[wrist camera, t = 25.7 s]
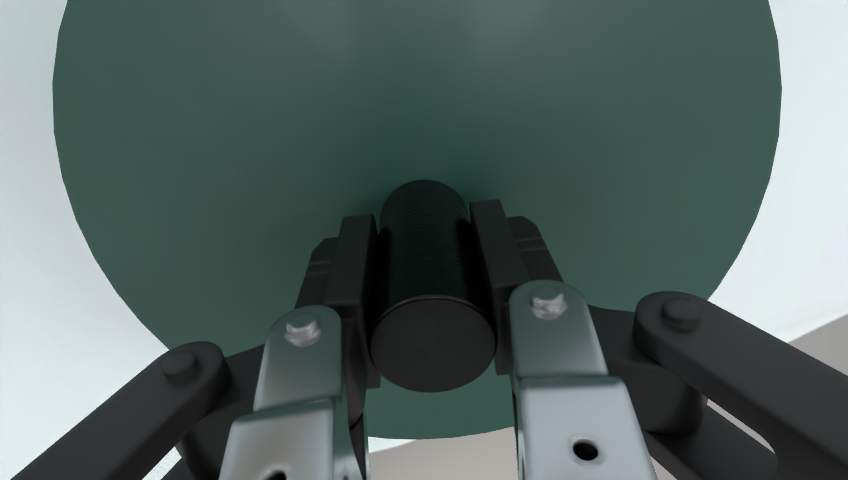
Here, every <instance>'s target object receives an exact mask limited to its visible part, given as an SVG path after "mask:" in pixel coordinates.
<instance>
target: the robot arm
mask: <svg viewBox="0 0 848 480" xmlns="http://www.w3.org/2000/svg"><path fill="white" fill-rule="evenodd" d="M469 207H470V222H471V228H472V232H473V236H474V241H475V245H476V249H477V253H478V258H479V262H480V266H481V270H482V274H483V279H484V283H485V287H486V291H487V296H488V300H489V304H490V308H491V312H492V317H493V321H494V324H495V327H496V331H497V338H498V345H497V350H496V354H495V356H494V359H493V361H494V366H495V370H496V375H497V376H500V375H509V378H510V382H511V386H512V409H513V421H514V434H515V446H516V459H517V471H518V480H658V478H657V475H656V472H655V469H654V467H653V464H652V461H651V458H650V456H651V457H653V458H654V459H655V460H656V461H657V462H658V463H659V464H660V465H662V466H663V467H664V468H665V469H666V470H667V471H668V472H669V473H670V474H672V475H673V476H674V477H675V478H676V479H677V480H848V376H847V375H845V374H843V373H841V372H839V371H837V370H836V369H833V368H832V367H830V366H828V365H826V364H824V363H822V362H821V361H819V360H817V359H815V358H813V357H811V356H809V355H808V354H806V353H804V352H802V351H800V350H798V349H796V348H794V347H793V346H791V345H789V344H787V343H785V342H783V341H782V340H780V339H778V338H776V337H774V336H772V335H770V334H769V333H767V332H765V331H763V330H761V329H759V328H757V327H755V326H754V325H752V324H750V323H748V322H746V321H744V320H742V319H741V318H739V317H737V316H735V315H733V314H731V313H729V312H728V311H726V310H724V309H722V308H720V307H718V306H716V305H715V304H713V303H711V302H709V301H707V300H705V299H703V298H701V297H698V296H695V295H692V294H688V293H684V292H678V291H660V292H655V293H651V294H649V295H646V296H645V297H643V298H642V299H641V300H640V301H639V302H638V303H637V305H636V310H635V312H630V311H621V310H611V309H604V308H599V307H595V306H592V305H590V304H587V302H586V300H585V297H584V296H583V294H582V293H581V292H580V291H579V290H578V289H576V288H575V287H573V286H571V285H569V284H567V283H564V281H563V279H562V277H561V275H560V273H559V271H558V269H557V267H556V264H555V262H554V260H553V258H552V256H551V254H550V252H549V250H548V249H547V246H546V244H545V242H544V239H542V235H541V233H540V231H539V229H538V227H537V225H536V224H534V223H533V222H532V221H530V220H529V219H527V218H526V217H524V216H514V217H506V215H505V212H504V210H503V207H502V204H501V202H500V199H491V200H483V201H474V202H470V204H469ZM377 242H378V232H377V227H376V222H375V218H374V215H373V213H371V214H363V215H354V216H346V217H343V219H342V223H341V227H340V232H339V236H338V237H333V238H324V240H323V241H322V242H321V243H320V244H319V245H318V246H317V247H316V248H315V249H314V250H313V251H312V254H311V257H310V260H309V266H308V267H307V270H306V273H305V277H304V279H303V282H302V286H301V289H300V292H299V295H298V298H297V301H296V305H295V308H294V310H292V311H290V312H288V313H286V314H285V315H283V316H281V317H280V318H279V319H278V320H277V321H275V322H274V324H273V325H272V326H271V327H270V329H269V331H268V334H267V337H266V343H264V344H262V345H260V346H257V347H255V348H252V349H249V350H246V351H243V352H240V353H237V354H234V355H231V356H228V357H224V354H223V352H222V350H221V349H220V347H219V346H218V345H216V344H214V343H212V342H208V341H196V342H190V343H186V344H183V345H180V346H178V347H175V348H173V349H171V350H169V351H167V352H166V353H164V354H163V355H161V356H160V357H158V358H157V359H156V360H155V361H153V362H152V363H151V364H150V365H148V366H147V367H146V368H145V369H144V370H142V371H141V372H140V373H139V374H138V375H136V376H135V377H134V378H133V379H132V380H130V381H129V382H128V383H127V384H125V385H124V386H123V387H122V388H121V389H119V390H118V391H117V392H116V393H115V394H113V395H112V396H111V397H110V398H109V399H107V400H106V401H105V402H104V403H103V404H101V405H100V406H99V407H98V408H96V409H95V410H94V411H93V412H92V413H90V414H89V415H88V416H87V417H86V418H84V419H83V420H82V421H81V422H80V423H78V424H77V425H76V426H75V427H73V428H72V429H71V430H70V431H69V432H67V433H66V434H65V435H64V436H63V437H61V438H60V439H59V440H58V441H57V442H55V443H54V444H53V445H52V446H51V447H49V448H48V449H47V450H46V451H44V452H43V453H42V454H41V455H40V456H38V457H37V458H36V459H35V460H34V461H32V462H31V463H30V464H29V465H28V466H26V467H25V468H24V469H23V470H21V471H20V472H19V473H18V474H17V475H15V476H14V477H13V478H12V479H11V480H142V479H143V478H144V477H145V476H146V475H147V474H148V473H149V472H150V471H151V470H152V469H153V468H154V467H155V466H156V465H157V464H158V463H159V462H160V460H161V459H162V458H163V457H164V456H165V455H166V454H167V453H168V452H169V451H170V450H171V449H172V448H173V447H174V446H175V447H176V449H177V451H178V452H179V454H180V456H181V457H182V458H181V459H180V460H179V461H178V462H177V463H176V464H175V465H174V466H173V467H172V469H171V470H170V471H169V472H168V473H167V474H166V475H165V476H164V477H163V478H162V479H161V480H370V467H369V449H368V433H367V418H366V413H365V409H364V406H365V398H366V389H375V388H380V382H381V374H380V373H379V372H378V371H377V370H376V369H375V367H374V366H373V364H372V362H371V360H370V357H369V354H368V348H367V340H368V330H369V321H370V311H371V301H372V291H373V281H374V272H375V262H376V252H377ZM708 398H709V399H710V400H711V401H713V402H714V403H716V404H717V405H719V406H720V407H721V408H723V409H724V410H726V411H727V412H728V413H730V414H731V415H733V416H734V417H735V418H737V419H738V420H740V421H741V422H743V423H744V424H745V425H747V426H748V427H750V428H751V429H753V430H754V431H755V432H757V433H758V434H759V435H761V436H762V437H763V438H764V439H765V440H766V441H767V442H768V443H769V444H770V446H771V447H772V448H773V450H774V452H775V454H774V453H773V452H771V451H770V450H769V449H768V448H766V447H765V446H763V445H762V444H761V443H759V442H758V441H756V440H755V439H754V438H752V437H751V436H749V435H748V434H747V433H745V432H744V431H743V430H741V429H740V428H738V427H737V426H736V425H734V424H733V423H731V422H730V421H729V420H727V419H726V418H724V417H723V416H722V415H720V414H719V413H718V412H716V411H715V410H713V409H712V408H711V407H709V406H708V405H707V402H708Z"/></svg>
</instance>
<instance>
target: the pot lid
mask: <svg viewBox="0 0 848 480" xmlns="http://www.w3.org/2000/svg"><path fill="white" fill-rule="evenodd" d="M781 93H782V86H781V73H780V61H779V49H778V39H777V35H776V31H775V27H774V22H773V18H772V14H771V10H770V6H769V2H768V0H68V1H67V5H66V8H65V12H64V15H63V19H62V22H61V26H60V29H59V34H58V42H57V50H56V58H55V66H54V74H53V115H54V134H55V140H56V146H57V151H58V157H59V162H60V168H61V173H62V178H63V181H64V184H65V187H66V191H67V194H68V197H69V200H70V203H71V206H72V209H73V212H74V215H75V218H76V221H77V223H78V225H79V227H80V229H81V231H82V233H83V235H84V237H85V239H86V242H87V244H88V246H89V248H90V250H91V252H92V254H93V256H94V258H95V260H96V261H97V263H98V264H99V266H100V267H101V269H102V271H103V272H104V274H105V275H106V277H107V278H108V280H109V281H110V283H111V285H112V286H113V288H114V289H115V291H116V292H117V294H118V295H119V296H120V297H121V298H122V300H123V301H124V302H125V303H126V304H127V306H128V307H129V308H130V309H131V311H132V312H133V313H134V314H135V315H136V317H137V318H138V319H139V320H140V322H141V323H142V324H143V325H144V326H145V327H146V328H147V329H149V330H150V331H151V332H152V333H153V334H154V335H155V336H156V337H157V338H158V339H159V340H160V341H161V342H162V343H163V344H164V345H165V346H166V347H167V348H168V349H169V350H171V349H173V348H175V347H178V346H180V345H183V344H186V343H190V342H196V341H208V342H212V343H214V344H216V345H218V346H219V347H220V349H221V350H222V352H223V354H224V357H228V356H231V355H234V354H237V353H240V352H243V351H246V350H249V349H252V348H255V347H257V346H260V345H262V344H264V343H266V337H267V334H268V331H269V329H270V327H271V326H272V325H273V324H274V322H275V321H277V320H278V319H279V318H280V317H281V316H283V315H285V314H286V313H288V312H290V311H292V310H294V308H295V305H296V301H297V298H298V295H299V292H300V289H301V286H302V282H303V279H304V277H305V273H306V270H307V267H308V266H309V260H310V257H311V254H312V251H313V250H314V249H315V248H316V247H317V246H318V245H319V244H320V243H321V242H322V241H323V240H324V238H333V237H338V236H339V232H340V227H341V223H342V219H343V217H346V216H354V215H363V214H371V213H373V215H374V218H375V222H376V227H377V232H378V242H377V252H376V262H375V272H374V281H373V291H372V301H371V311H370V321H369V330H368V340H367V348H368V354H369V357H370V360H371V362H372V364H373V366H374V367H375V369H376V370H377V371H378V372H379V373H380V374H381V382H380V388H375V389H366V398H365V406H364V409H365V413H366V418H367V433H368V436H369V437H378V438H387V439H435V438H453V437H460V436H466V435H474V434H480V433H487V432H491V431H495V430H500V429H504V428H508V427H512V426H514V421H513V409H512V386H511V382H510V378H509V375H500V376H497V375H496V370H495V366H494V361H493V359H494V356H495V354H496V350H497V345H498V338H497V331H496V327H495V324H494V321H493V317H492V312H491V308H490V304H489V300H488V296H487V291H486V287H485V283H484V279H483V274H482V270H481V266H480V262H479V258H478V253H477V249H476V245H475V241H474V236H473V232H472V228H471V222H470V207H469V204H470V202H474V201H483V200H491V199H500V202H501V204H502V207H503V210H504V212H505V215H506V217H514V216H524V217H526V218H527V219H529V220H530V221H532V222H533V223H534V224H536V225H537V227H538V229H539V231H540V233H541V235H542V239H544V242H545V244H546V246H547V249H548V250H549V252H550V254H551V256H552V258H553V260H554V262H555V264H556V267H557V269H558V271H559V273H560V275H561V277H562V279H563V281H564V283H567V284H569V285H571V286H573V287H575V288H576V289H578V290H579V291H580V292H581V293H582V294H583V296H584V297H585V300H586V302H587V304H590V305H592V306H595V307H599V308H604V309H611V310H621V311H630V312H635V310H636V305H637V303H638V302H639V301H640V300H641V299H642V298H643V297H645V296H646V295H649V294H651V293H655V292H660V291H678V292H684V293H688V294H692V295H695V296H698V297H701V298H703V299H705V300H708V299H709V297H710V296H711V295H712V294H713V293H714V291H715V290H716V289H717V287H718V286H719V284H720V283H721V281H722V280H723V278H724V277H725V275H726V273H727V272H728V270H729V269H730V267H731V266H732V264H733V263H734V261H735V259H736V258H737V256H738V255H739V253H740V251H741V248H742V246H743V244H744V242H745V240H746V238H747V236H748V234H749V232H750V230H751V228H752V226H753V224H754V222H755V220H756V218H757V215H758V212H759V209H760V206H761V203H762V200H763V197H764V194H765V191H766V189H767V186H768V183H769V180H770V176H771V171H772V166H773V161H774V156H775V151H776V146H777V142H778V137H779V124H780V109H781Z"/></svg>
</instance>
